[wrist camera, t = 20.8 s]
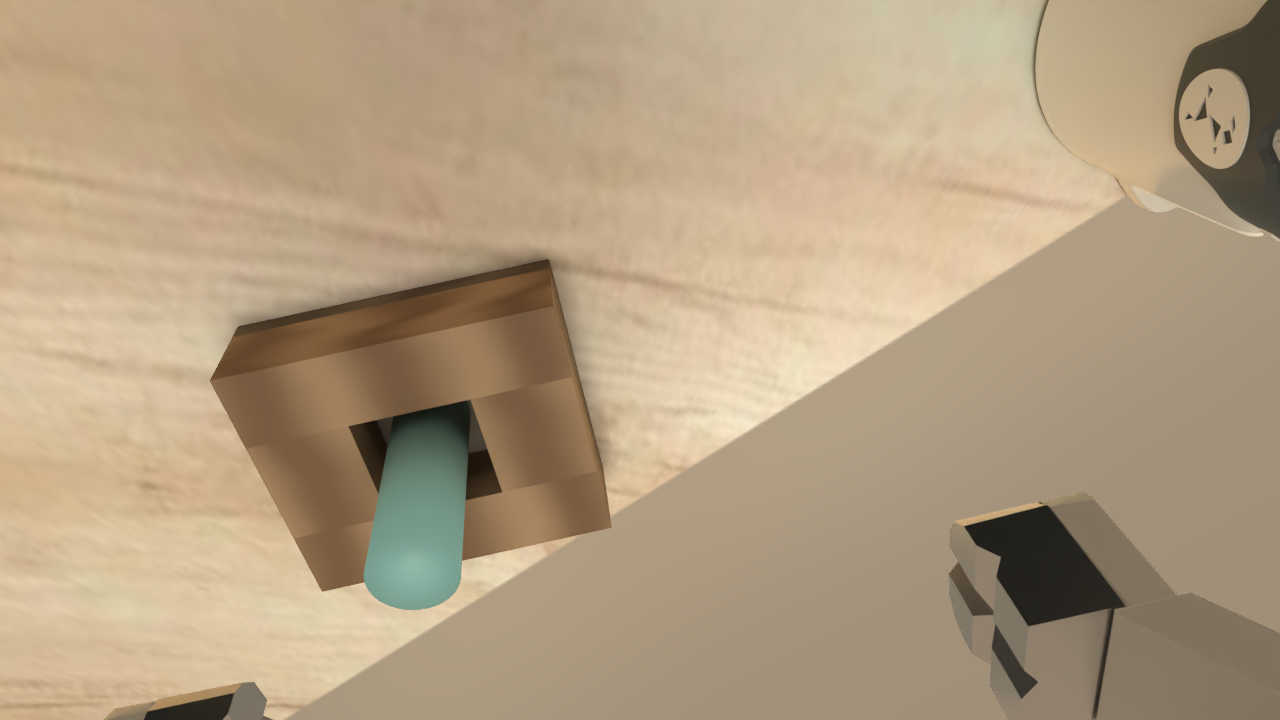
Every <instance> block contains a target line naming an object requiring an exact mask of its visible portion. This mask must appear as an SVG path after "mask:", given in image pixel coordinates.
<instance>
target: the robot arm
mask: <svg viewBox="0 0 1280 720" xmlns="http://www.w3.org/2000/svg"><path fill="white" fill-rule="evenodd" d="M1035 72H1036V86H1037V92H1038V97H1039V102H1040V105H1041V109H1042V111H1043V114H1044V117H1045V119H1046V121H1047V123H1048V125H1049V127H1050V128H1051V130H1052V132H1053V133H1054V135H1055V136H1056V137H1057V139H1058V140H1059V141H1060V142H1061V143H1062V144H1063V145H1064V146H1065V147H1066V148H1067V149H1068V150H1069V151H1070V152H1071V153H1073V154H1074V155H1076V156H1077V157H1078V158H1080V159H1082V160H1084V161H1085V162H1088V163H1090V164H1092V165H1094V166H1096V167H1099V168H1101V169H1103V170H1105V171H1107V172H1109V173H1111V174H1112V175H1113V176H1115V177H1116V178H1117V180H1118V182H1119V183H1120V185H1121V186H1122V188H1123V189H1124V191H1125V192H1126V194H1127V195H1128V197H1129V198H1130V199H1131V200H1132V201H1133V202H1134V203H1135V204H1136V205H1137V206H1139V207H1141V208H1144V209H1146V210H1148V211H1151V212H1153V213H1163V212H1166V211H1169V210H1172V209H1175V208H1177V207H1180V208H1182V209H1184V210H1186V211H1189V212H1191V213H1193V214H1196V215H1198V216H1200V217H1202V218H1205V219H1207V220H1209V221H1212V222H1214V223H1216V224H1219V225H1221V226H1223V227H1226V228H1228V229H1231V230H1233V231H1236V232H1238V233H1240V234H1243V235H1247V236H1262V235H1264V234H1265V235H1267V236H1269V237H1270V238H1272V239H1274V240H1276V241H1278V242H1280V0H1049V2H1048V5H1047V8H1046V10H1045V14H1044V17H1043V20H1042V24H1041V28H1040V32H1039V37H1038V43H1037V50H1036V66H1035ZM949 546H950V548H951V550H952V552H953V553H954V555H955V557H956V558H957V560H958V563H957V564H956V565H955V567H954V568H953V569H952V570H951V572H950V573H949V594H950V599H951V603H952V607H953V612H954V616H955V619H956V621H957V624H958V626H959V629H960V631H961V634H962V636H963V638H964V640H965V641H966V643H967V645H968V647H969V649H970V651H971V653H972V654H974V655H975V656H977V657H979V658H981V659H982V660H984V661H986V662H988V663H989V664H991V672H990V687H991V689H992V691H993V692H994V694H995V696H996V698H997V700H998V701H999V703H1000V705H1001V707H1002V709H1003V710H1004V712H1005V714H1006V716H1007V717H1008V719H1009V720H1280V633H1279V632H1276V631H1274V630H1272V629H1270V628H1268V627H1265V626H1263V625H1261V624H1259V623H1257V622H1255V621H1252V620H1250V619H1248V618H1245V617H1244V616H1241V615H1239V614H1237V613H1235V612H1232V611H1230V610H1228V609H1226V608H1224V607H1222V606H1219V605H1217V604H1215V603H1213V602H1211V601H1208V600H1206V599H1204V598H1202V597H1200V596H1197V595H1195V594H1193V593H1187V594H1181V595H1177V594H1176V593H1175V592H1174V591H1173V589H1172V588H1171V587H1170V586H1169V585H1168V584H1167V582H1166V581H1165V580H1164V579H1163V578H1162V577H1161V576H1160V574H1159V573H1158V572H1157V571H1156V570H1155V569H1154V567H1153V566H1152V565H1151V564H1150V563H1149V562H1148V561H1147V560H1146V558H1145V557H1144V556H1143V555H1142V554H1141V552H1140V551H1139V550H1138V549H1137V548H1136V547H1135V546H1134V544H1133V543H1132V542H1131V541H1130V540H1129V539H1128V537H1127V536H1126V535H1125V534H1124V533H1123V532H1122V531H1121V529H1120V528H1119V527H1118V526H1117V525H1116V524H1115V523H1114V522H1113V520H1112V519H1111V518H1110V517H1109V516H1108V514H1107V513H1106V512H1105V511H1104V510H1103V509H1102V508H1101V506H1100V505H1099V504H1098V503H1097V502H1096V501H1095V499H1094V498H1093V497H1092V496H1090V495H1088V494H1086V493H1084V492H1079V493H1075V494H1070V495H1066V496H1062V497H1058V498H1053V499H1049V500H1044V501H1040V502H1038V503H1030V504H1026V505H1022V506H1017V507H1013V508H1009V509H1005V510H1000V511H996V512H992V513H988V514H984V515H979V516H975V517H972V518H967V519H962V520H959V521H954V522H953V524H952V527H951V529H950V542H949ZM266 702H267V699H266V698H265V696H264V695H263V694H262V692H261V691H260V690H259V688H258V687H257V685H256V684H255V683H254V682H245V683H238V684H233V685H228V686H223V687H218V688H213V689H208V690H203V691H198V692H193V693H188V694H183V695H178V696H173V697H168V698H163V699H158V700H156V701H151V702H146V703H141V704H136V705H131V706H126V707H121V708H116V709H114V710H113V711H112V712H111V713H110V714H109V715H108V716H107V717H106V718H105V719H104V720H272V719H270V718H268V717H265V716H263V714H264V710H265V706H266Z"/></svg>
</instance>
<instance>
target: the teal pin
mask: <svg viewBox="0 0 1280 720" xmlns="http://www.w3.org/2000/svg"><path fill="white" fill-rule="evenodd" d="M470 419H471V411H470V406H469V404H468V402H467V400H466V401H461V402H457V403H452V404H448V405H443V406H438V407H434V408H429V409H425V410H420V411H416V412H411V413H406V414H402V415H397V416H393V421H392V426H391V431H390V437H389V442H388V447H387V453H386V458H385V463H384V468H383V474H382V479H381V484H380V490H379V495H378V500H377V506H376V511H375V516H374V521H373V527H372V532H371V537H370V543H369V548H368V553H367V559H366V564H365V569H364V581H365V584H366V587H367V588H368V590H369V592H370V593H371V594H372V595H373V596H374V597H375V598H376V599H378V600H379V601H381V602H383V603H384V604H386V605H389V606H392V607H395V608H399V609H406V610H420V609H426V608H430V607H434V606H436V605H439V604H441V603H443V602H444V601H446V600H447V599H449V598H450V597H451V596H452V595H453V594H454V593H455V591H456V590H457V588H458V586H459V584H460V580H461V566H462V550H463V533H464V517H465V501H466V484H467V468H468V452H469V435H470Z"/></svg>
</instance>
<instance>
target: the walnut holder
mask: <svg viewBox="0 0 1280 720" xmlns="http://www.w3.org/2000/svg"><path fill="white" fill-rule="evenodd" d="M210 382H211V384H212V386H213V388H214V389H215V391H216V393H217V395H218V397H219V399H220V401H221V403H222V405H223V406H224V408H225V410H226V412H227V414H228V416H229V418H230V420H231V421H232V423H233V425H234V427H235V429H236V431H237V433H238V435H239V436H240V438H241V440H242V442H243V444H244V446H245V448H246V450H247V451H248V453H249V455H250V457H251V459H252V461H253V463H254V465H255V466H256V468H257V470H258V472H259V474H260V476H261V478H262V480H263V481H264V483H265V485H266V487H267V489H268V491H269V493H270V495H271V496H272V498H273V500H274V502H275V504H276V506H277V508H278V510H279V512H280V513H281V515H282V517H283V519H284V521H285V523H286V525H287V527H288V528H289V530H290V532H291V534H292V536H293V538H294V540H295V542H296V543H297V545H298V547H299V549H300V551H301V553H302V555H303V557H304V558H305V560H306V562H307V564H308V566H309V568H310V570H311V572H312V573H313V575H314V577H315V579H316V581H317V583H318V585H319V587H320V588H321V590H322V591H327V590H332V589H336V588H341V587H345V586H350V585H354V584H359V583H363V582H365V581H364V569H365V564H366V559H367V553H368V548H369V543H370V537H371V532H372V527H373V521H374V516H375V511H376V506H377V500H378V495H379V490H380V484H381V479H382V474H383V468H384V463H385V458H386V453H387V447H388V442H389V437H390V431H391V426H392V421H393V416H397V415H402V414H406V413H411V412H416V411H420V410H425V409H429V408H434V407H438V406H443V405H448V404H452V403H457V402H461V401H466V400H467V402H468V404H469V406H470V411H471V419H470V435H469V452H468V468H467V484H466V501H465V517H464V533H463V550H462V560H467V559H472V558H476V557H481V556H485V555H490V554H494V553H499V552H503V551H508V550H512V549H517V548H521V547H526V546H530V545H535V544H539V543H544V542H548V541H553V540H557V539H562V538H566V537H571V536H575V535H580V534H584V533H589V532H593V531H597V530H602V529H607V528H611V521H610V513H609V507H608V500H607V493H606V486H605V479H604V472H603V467H602V463H601V459H600V456H599V452H598V448H597V444H596V440H595V436H594V432H593V428H592V425H591V421H590V417H589V413H588V409H587V405H586V401H585V397H584V393H583V390H582V386H581V382H580V378H579V374H578V370H577V366H576V362H575V359H574V355H573V351H572V347H571V343H570V339H569V335H568V331H567V328H566V324H565V320H564V316H563V312H562V308H561V304H560V300H559V297H558V293H557V289H556V285H555V281H554V277H553V273H552V269H551V266H550V262H549V260H544V261H540V262H535V263H530V264H526V265H521V266H517V267H512V268H507V269H503V270H498V271H494V272H489V273H484V274H480V275H475V276H471V277H466V278H461V279H457V280H452V281H448V282H443V283H438V284H434V285H429V286H425V287H420V288H415V289H411V290H406V291H402V292H397V293H392V294H388V295H383V296H379V297H374V298H369V299H365V300H360V301H356V302H351V303H346V304H342V305H337V306H332V307H328V308H323V309H319V310H314V311H309V312H305V313H300V314H296V315H291V316H286V317H282V318H277V319H273V320H268V321H263V322H259V323H254V324H250V325H245V326H240V327H238V328H237V330H236V332H235V334H234V336H233V337H232V339H231V341H230V343H229V345H228V347H227V349H226V351H225V353H224V355H223V357H222V359H221V361H220V362H219V364H218V366H217V368H216V370H215V372H214V374H213V376H212V378H211V380H210Z"/></svg>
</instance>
